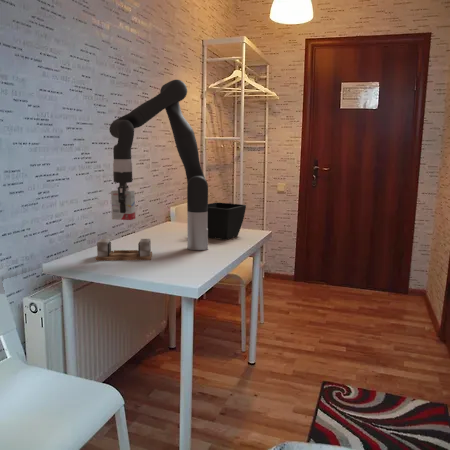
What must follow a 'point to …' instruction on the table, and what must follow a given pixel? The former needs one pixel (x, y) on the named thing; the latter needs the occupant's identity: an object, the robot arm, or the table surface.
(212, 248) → the table surface
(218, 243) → the table surface
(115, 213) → the ink box
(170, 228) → the table surface
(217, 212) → the flower pot
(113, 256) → the rail
